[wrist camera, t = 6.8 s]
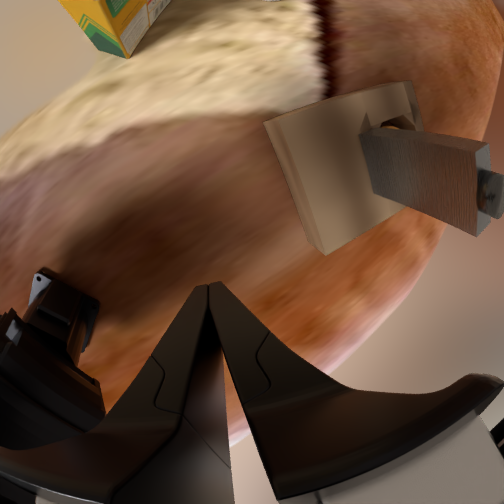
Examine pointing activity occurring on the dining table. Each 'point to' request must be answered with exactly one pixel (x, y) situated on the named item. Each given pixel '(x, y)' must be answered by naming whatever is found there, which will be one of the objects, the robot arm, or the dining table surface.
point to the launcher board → (339, 159)
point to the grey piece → (435, 175)
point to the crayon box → (115, 21)
